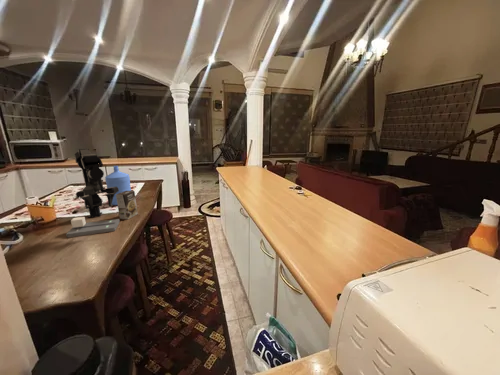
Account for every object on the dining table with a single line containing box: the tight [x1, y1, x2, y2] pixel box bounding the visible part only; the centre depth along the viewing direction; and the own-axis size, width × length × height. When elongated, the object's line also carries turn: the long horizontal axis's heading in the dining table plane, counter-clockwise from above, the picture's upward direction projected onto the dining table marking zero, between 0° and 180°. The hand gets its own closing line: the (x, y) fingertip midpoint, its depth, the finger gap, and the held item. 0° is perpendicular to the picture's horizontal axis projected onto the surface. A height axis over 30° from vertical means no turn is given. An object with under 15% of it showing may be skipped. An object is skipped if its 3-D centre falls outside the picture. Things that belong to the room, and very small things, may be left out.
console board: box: [65, 218, 120, 238], centre depth 123 cm, size 13×22×2 cm, turn 110°
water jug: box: [104, 165, 132, 206], centre depth 164 cm, size 16×16×28 cm
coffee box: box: [116, 190, 138, 220], centre depth 139 cm, size 9×6×16 cm
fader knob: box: [70, 216, 87, 229], centre depth 120 cm, size 4×5×5 cm
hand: (101, 207), depth 118 cm, fingers open, 9 cm apart
